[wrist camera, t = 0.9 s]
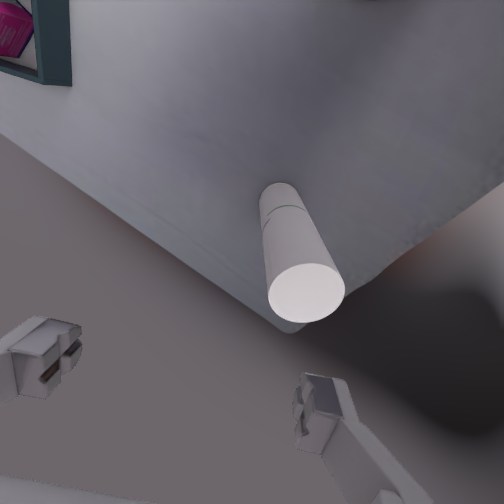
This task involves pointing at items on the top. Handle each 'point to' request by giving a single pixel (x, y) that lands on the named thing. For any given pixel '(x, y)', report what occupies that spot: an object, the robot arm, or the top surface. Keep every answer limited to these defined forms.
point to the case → (48, 45)
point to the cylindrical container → (296, 259)
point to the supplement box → (14, 28)
